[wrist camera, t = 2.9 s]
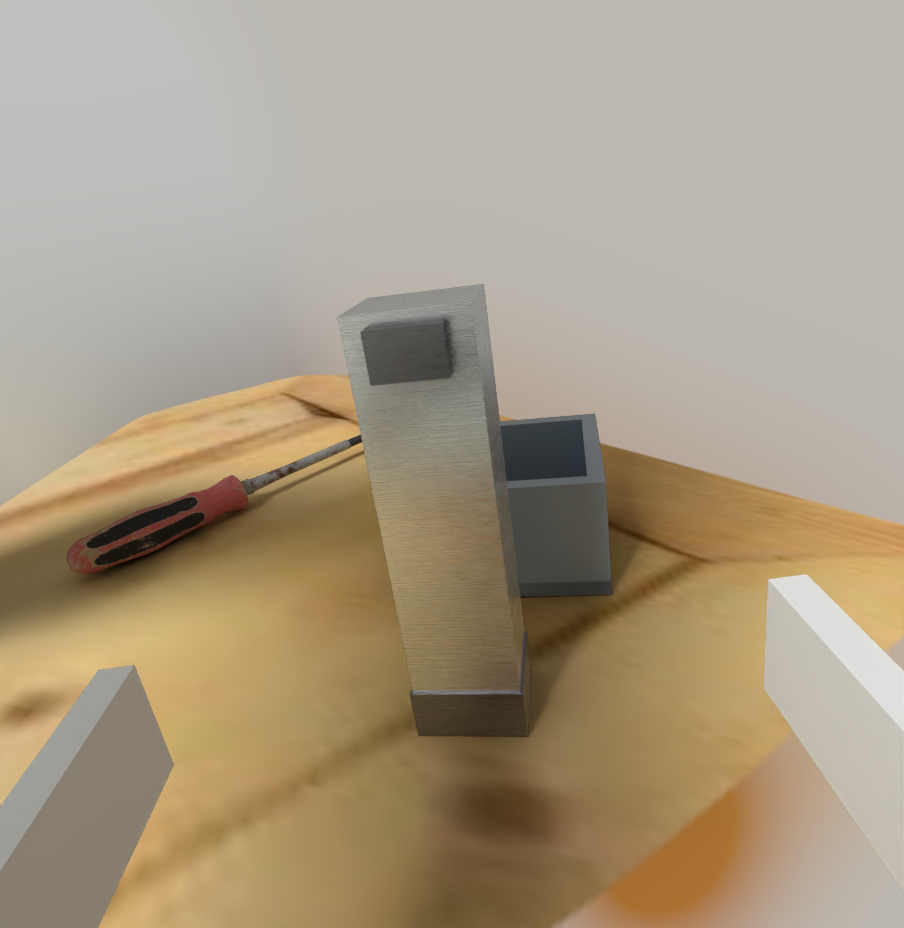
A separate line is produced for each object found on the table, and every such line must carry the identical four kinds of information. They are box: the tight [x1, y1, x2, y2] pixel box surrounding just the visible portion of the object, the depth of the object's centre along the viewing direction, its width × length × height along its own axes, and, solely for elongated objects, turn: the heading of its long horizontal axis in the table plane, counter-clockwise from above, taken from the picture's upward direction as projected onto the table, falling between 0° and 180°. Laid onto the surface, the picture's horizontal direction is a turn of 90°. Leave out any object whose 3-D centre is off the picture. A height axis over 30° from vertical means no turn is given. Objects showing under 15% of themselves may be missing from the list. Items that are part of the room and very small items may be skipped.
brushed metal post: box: [337, 284, 532, 737], centre depth 23 cm, size 4×4×16 cm
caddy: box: [500, 414, 612, 597], centre depth 36 cm, size 10×10×6 cm
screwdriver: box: [67, 435, 362, 574], centre depth 48 cm, size 25×3×3 cm, turn 136°
